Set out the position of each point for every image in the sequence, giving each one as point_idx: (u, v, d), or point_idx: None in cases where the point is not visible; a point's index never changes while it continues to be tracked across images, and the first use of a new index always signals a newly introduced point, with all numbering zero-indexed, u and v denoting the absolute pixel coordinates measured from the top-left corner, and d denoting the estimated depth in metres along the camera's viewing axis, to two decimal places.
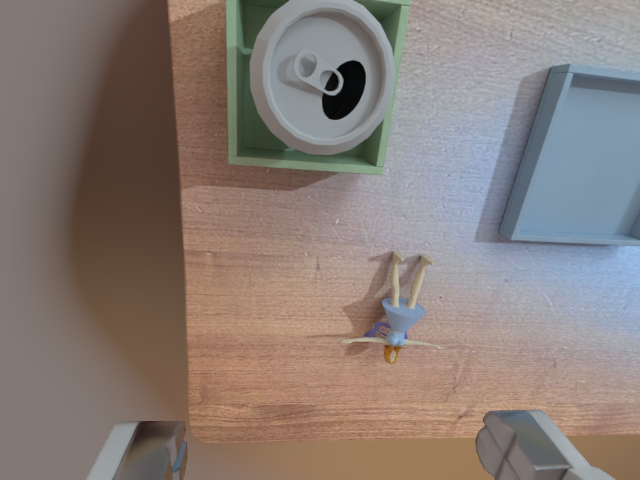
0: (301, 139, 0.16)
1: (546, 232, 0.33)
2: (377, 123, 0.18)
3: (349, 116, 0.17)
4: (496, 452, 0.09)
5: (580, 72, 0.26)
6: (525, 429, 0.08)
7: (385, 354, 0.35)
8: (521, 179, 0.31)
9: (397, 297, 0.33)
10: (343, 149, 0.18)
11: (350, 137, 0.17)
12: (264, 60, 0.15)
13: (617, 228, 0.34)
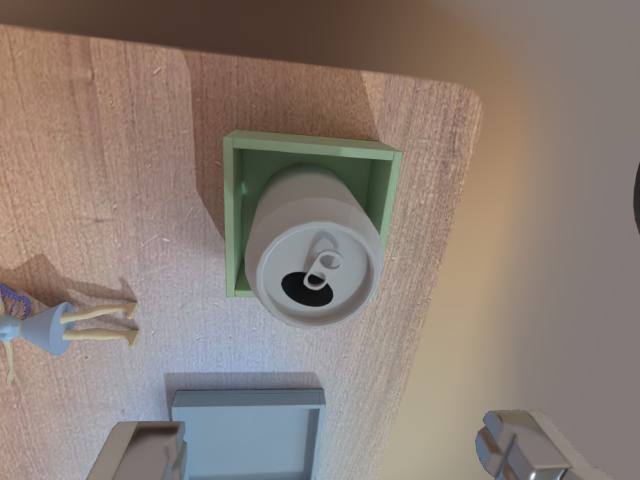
0: (260, 258, 0.15)
1: None
2: None
3: (285, 296, 0.17)
4: (496, 452, 0.09)
5: (320, 412, 0.34)
6: (525, 429, 0.08)
7: None
8: (232, 396, 0.34)
9: (75, 319, 0.27)
10: (252, 287, 0.18)
11: (265, 302, 0.16)
12: (334, 224, 0.15)
13: (195, 476, 0.38)
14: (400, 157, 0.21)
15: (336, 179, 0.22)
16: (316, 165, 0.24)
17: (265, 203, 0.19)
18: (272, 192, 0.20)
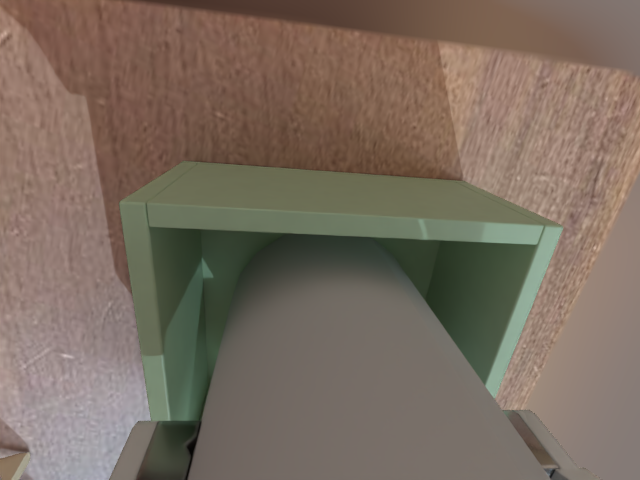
0: None
1: None
2: None
3: None
4: None
5: None
6: None
7: None
8: None
9: None
10: None
11: None
12: None
13: None
14: (556, 238, 0.09)
15: (399, 280, 0.10)
16: None
17: (229, 397, 0.07)
18: (251, 343, 0.08)
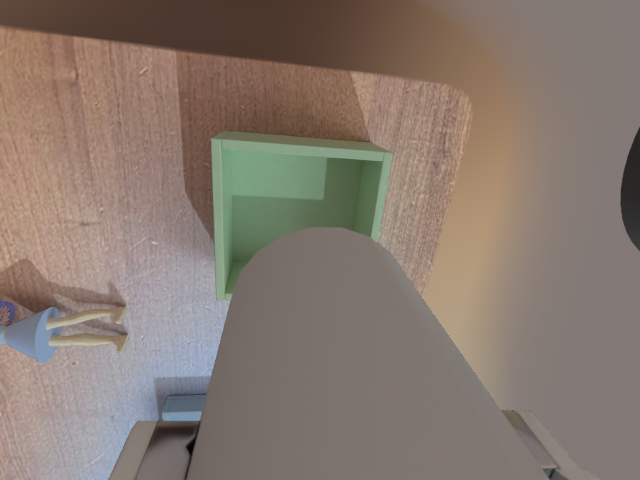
0: None
1: None
2: None
3: None
4: None
5: None
6: None
7: None
8: None
9: (62, 325, 0.26)
10: None
11: None
12: None
13: None
14: (390, 158, 0.21)
15: (397, 279, 0.10)
16: (346, 233, 0.12)
17: (227, 396, 0.07)
18: (250, 342, 0.08)
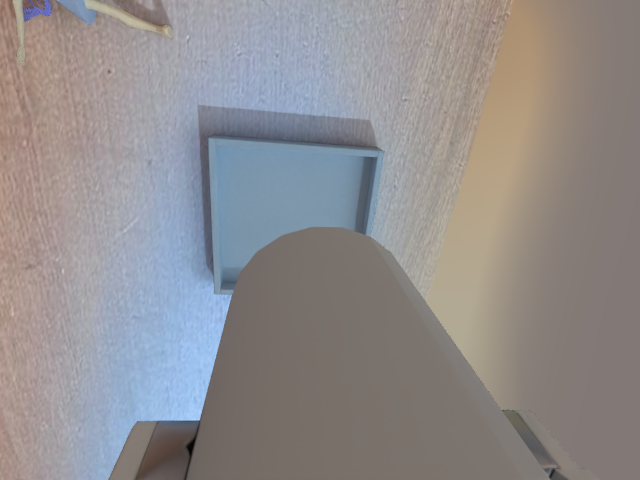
0: None
1: (219, 187, 0.30)
2: None
3: None
4: None
5: (377, 163, 0.30)
6: None
7: None
8: (277, 141, 0.29)
9: None
10: None
11: None
12: None
13: (229, 267, 0.34)
14: None
15: (398, 279, 0.10)
16: (346, 233, 0.12)
17: (227, 396, 0.07)
18: (250, 342, 0.08)
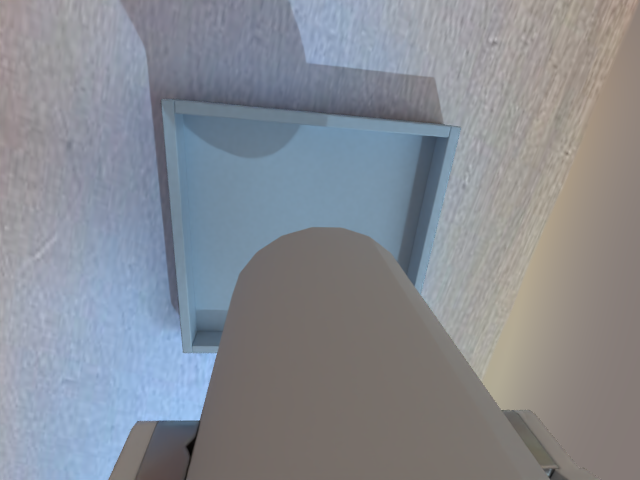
0: None
1: (186, 187, 0.18)
2: None
3: None
4: None
5: (447, 147, 0.18)
6: None
7: None
8: (282, 109, 0.17)
9: None
10: None
11: None
12: None
13: (206, 310, 0.22)
14: None
15: (398, 280, 0.10)
16: (346, 233, 0.12)
17: (227, 397, 0.07)
18: (250, 343, 0.08)
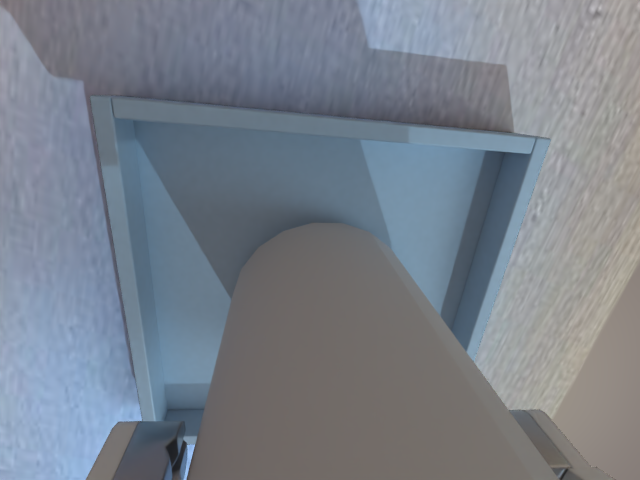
0: None
1: (142, 226, 0.12)
2: None
3: None
4: None
5: (528, 168, 0.12)
6: (525, 429, 0.08)
7: None
8: None
9: None
10: None
11: None
12: None
13: (180, 384, 0.16)
14: None
15: (398, 273, 0.10)
16: (347, 229, 0.12)
17: (232, 385, 0.07)
18: (253, 333, 0.08)
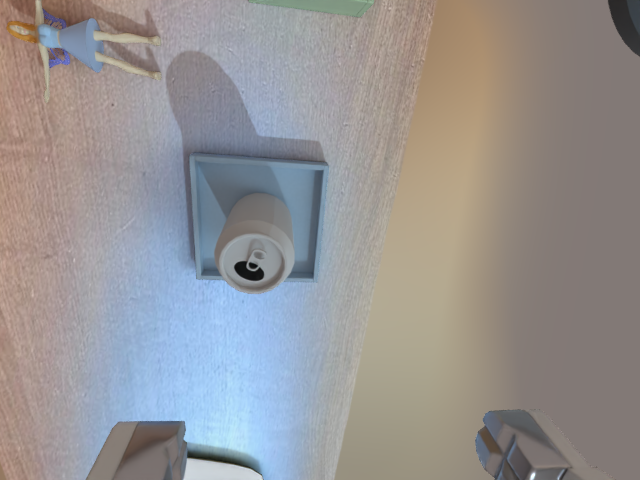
0: (221, 253, 0.29)
1: (199, 194, 0.38)
2: None
3: (236, 274, 0.30)
4: (496, 452, 0.09)
5: (323, 175, 0.38)
6: (525, 429, 0.08)
7: (19, 22, 0.29)
8: (244, 157, 0.37)
9: (106, 37, 0.30)
10: (219, 270, 0.31)
11: (225, 277, 0.30)
12: (259, 235, 0.28)
13: (208, 258, 0.42)
14: None
15: (275, 205, 0.35)
16: (265, 194, 0.38)
17: (228, 221, 0.32)
18: (233, 214, 0.33)
